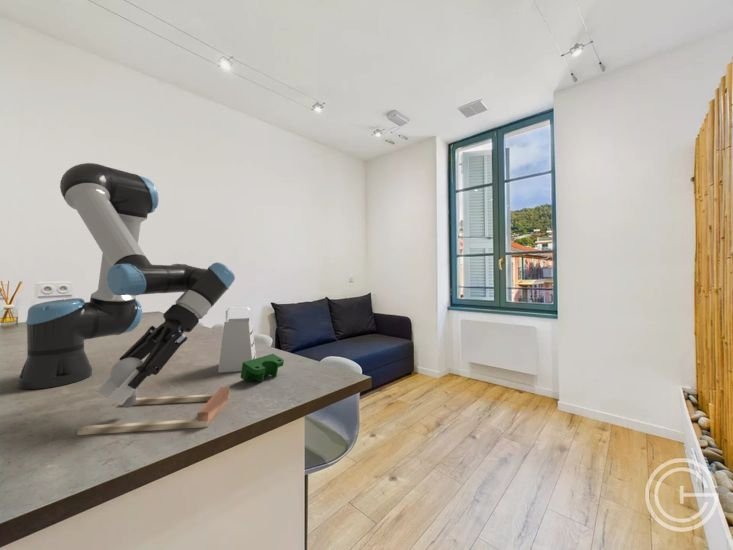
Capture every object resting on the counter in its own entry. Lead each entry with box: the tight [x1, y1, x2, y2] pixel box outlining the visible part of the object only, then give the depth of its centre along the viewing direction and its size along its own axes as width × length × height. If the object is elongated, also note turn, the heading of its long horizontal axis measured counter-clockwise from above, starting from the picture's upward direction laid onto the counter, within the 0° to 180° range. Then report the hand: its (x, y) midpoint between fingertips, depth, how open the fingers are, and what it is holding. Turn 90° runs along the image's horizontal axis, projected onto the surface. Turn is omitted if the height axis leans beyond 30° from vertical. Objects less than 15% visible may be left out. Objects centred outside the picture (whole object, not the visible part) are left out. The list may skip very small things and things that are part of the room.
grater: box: [217, 306, 257, 373], centre depth 102 cm, size 10×10×20 cm
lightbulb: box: [110, 357, 144, 409], centre depth 67 cm, size 6×6×11 cm
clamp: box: [240, 353, 285, 383], centre depth 92 cm, size 12×6×9 cm, turn 142°
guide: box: [77, 386, 230, 436], centre depth 68 cm, size 24×14×3 cm, turn 98°
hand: (108, 397), depth 64 cm, fingers closed on lightbulb, 6 cm apart
